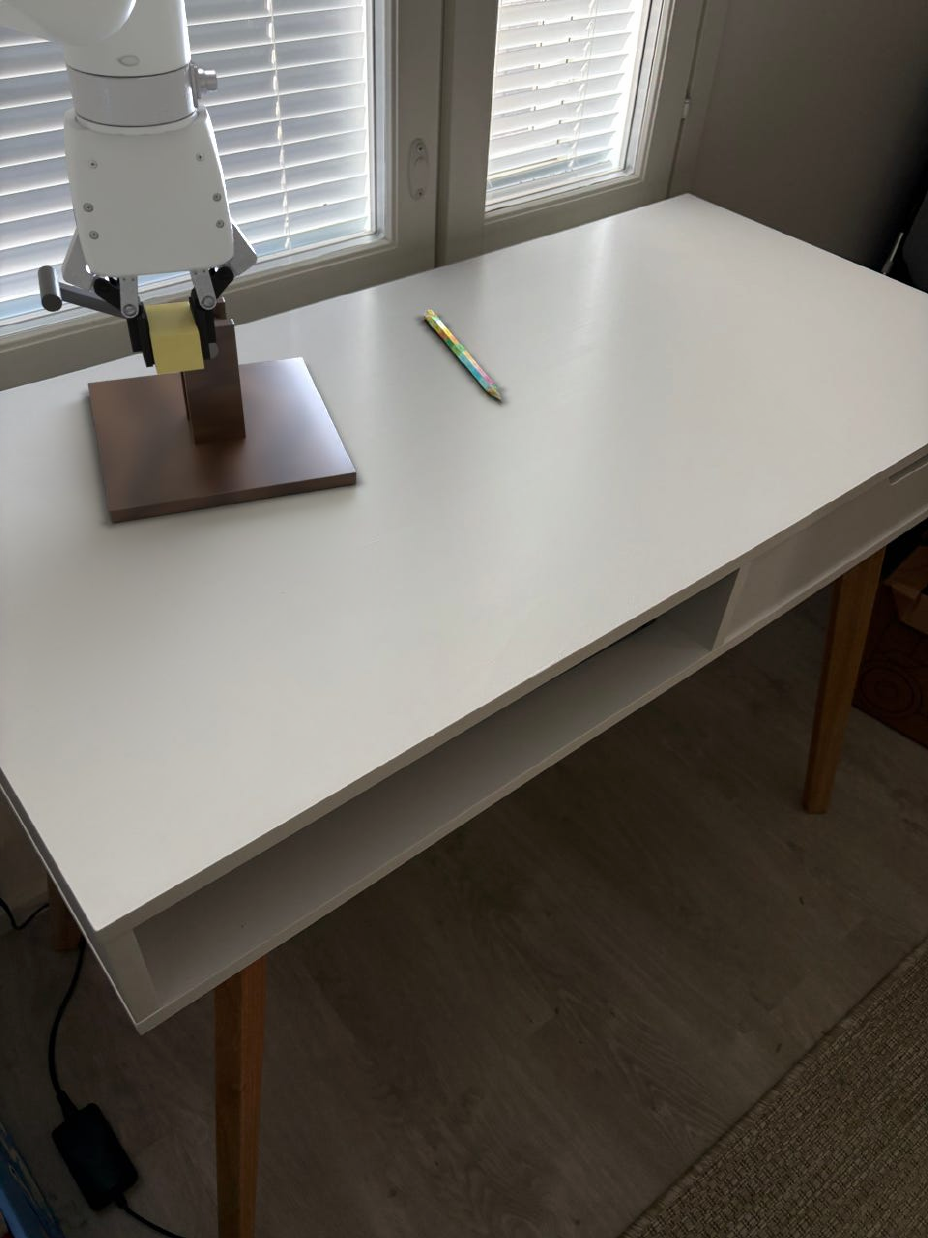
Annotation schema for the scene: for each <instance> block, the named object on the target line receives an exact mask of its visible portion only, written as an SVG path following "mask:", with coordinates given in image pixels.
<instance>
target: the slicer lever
mask: <svg viewBox="0 0 928 1238" xmlns="http://www.w3.org/2000/svg"><path fill="white" fill-rule="evenodd" d="M58 273H59V272H58V271H57V269H56V268H55V267H53V266H52V265H49V264H45V265H42V266H40V267H39V268H38V270H37V279H38V289H39V295H40V304H41V306H42V308H43V309H44V310H45V311H47V312H51V313H55V312H58V311H60V309H61V308H62V307H63V302H64V303H68V304H71V305H75V306H79V307H82V308H85V309H89V310H92V311H96V312H99V313H102V314H106V315H108V316H109V315H110V316H112V317H116V318H119V319H123V320H126V317H125V316H123V314H122V313H121V311H120V310H118V309H117V308H115V307H114V306H113V305H111V304H110V303H108V302H107V301H105V300H104V299H102V298H101V297H99V296H98V295H97V294H96V293H94V292H92V291H87V290H84V289H82V288H79V287H77V286H74V285H71V284H69V283H64V282H60V280H59V274H58ZM217 320H222V319H218V318H215V317H214V321H217Z"/></svg>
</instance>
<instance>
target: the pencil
mask: <svg viewBox="0 0 928 1238" xmlns="http://www.w3.org/2000/svg"><path fill="white" fill-rule="evenodd" d="M423 318H424V320H425V321H426V322H427V323H428V325H430V327H431V328H432V329H433V330H434V331H435V332H436V333H437V335H438V336H439V337H440V338H441V339H442V341H443V342H444V343H445V344H446V345H447V346H448V347H449V349H450V350H451V351H452V353H453V354H454V355H455V356H456V357H457V358H458V360H459V361H460V362H461V363H462V364H463V366H464V367H465V368H466V369H467V370H468V371H469V373H470V374H471V375H472V376H473V378H474V379H475V380H476V381H477V382H478V383H479V384H480V385H481V386H482V388H483V389H484V390H485V392H487V394H489V396H492V397H494V398H496V399H497V400H500V401H502V398H501V395H500V392H499V389H498V387H497V386H496V384H495V382H494V381H493V380H492V379H491V377H489V375H488V374H487V373H486V372H485V371H484V369H482V367H481V366H480V365H479V364H478V362H476V360H475V359H474V358H473V356H472V355H471V354H470V353H469V352H468V351H467V350H466V348H465V347H463V345H462V344H461V343H460V342H459V341H458V339H457V338H456V337H455V336H454V335H453V334H452V332H451V331H450V330H449V329H448V328H447V327H446V325H445V324H444V323H443V322H442V320H441V319H440V318H439V317H438V316H437V314H436V313H434V311H433V310H432V309H428V310H425V312H424V314H423Z"/></svg>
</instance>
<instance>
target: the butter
mask: <svg viewBox="0 0 928 1238" xmlns="http://www.w3.org/2000/svg"><path fill="white" fill-rule="evenodd" d="M184 301H185V302H177V301H175V302H176V303H169V302H168V303H158V304H150V305H149V304H148V305H144V307H145V311H146V315H147V318H148V324H149V329H150V331H149V333H150V339H151V345H152V350H153V356H154V362H155V365H154V367H155V370H156V375H159V374H167V373H175V372H182V371H190V370H198V369H204V364H203V357H202V350H201V342H200V335H199V331H198V328H197V326H196V324H195V321H194V318H193V315H192V312H191V309H190V305H189V302H188V301H187V300H184Z"/></svg>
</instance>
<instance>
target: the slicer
mask: <svg viewBox="0 0 928 1238" xmlns="http://www.w3.org/2000/svg"><path fill="white" fill-rule="evenodd" d="M185 301H188V302H189V299H186V300H178V301H169V302H168V303H176V302H185ZM216 301H217V303H216V306H215V307H214V308H213V316H214V317H215V318H218V319H222V320H217V321H214V324H215V332H216V339H217V343H209V350H210V358H211V360H203V364H204V369H198V370H190V371H182V372H174V373H166V374H152V375H144V376H135V377H126V378H120V379H112V380H111V379H110V380H102V381H96V382H88V383H87V389H88V395H89V401H90V408H91V412H92V413H91V414H92V419H93V425H94V431H95V436H96V441H97V448H98V453H99V459H100V464H101V470H102V476H103V482H104V483H103V484H104V489H105V493H106V494H105V495H106V500H107V507H108V511H109V516H110V521H111V523H112V524H113V523H120V522H125V521H133V520H138V519H144V518H150V517H151V518H152V517H156V516H163V515H169V514H176V513H181V512H187V511H194V510H200V509H201V510H202V509H207V508H212V507H213V508H214V507H219V506H225V505H231V504H232V505H233V504H238V503H243V502H244V503H245V502H250V501H251V502H252V501H256V500H262V499H263V500H264V499H270V498H275V497H281V496H288V495H293V494H300V493H305V492H307V493H308V492H312V491H319V490H324V489H329V488H330V489H331V488H337V487H343V486H350V485H356V484H357V471H356V469H355V467H354V464H353V463H352V460H351V458H350V456H349V454H348V452H347V450H346V448H345V445H344V444H343V442H342V439H341V437H340V435H339V433H338V431H337V429H336V427H335V424H334V422H333V420H332V418H331V416H330V414H329V412H328V410H327V408H326V405H325V403H324V400H323V399H322V397H321V394H320V392H319V390H318V388H317V386H316V384H315V382H314V380H313V377H312V376H311V374H310V371H309V369H308V368H307V365H306V363H305V361H304V358H303V357H302V356H299V357H290V358H282V359H275V360H266V361H258V362H257V361H256V362H248V363H241V364H239V356H238V348H237V340H236V329H235V323H234V321H233V319H232V318H228V315H227V307H226V306H227V305H226V301H225V298H224V296H219V298H218V299H217V300H216Z"/></svg>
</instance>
